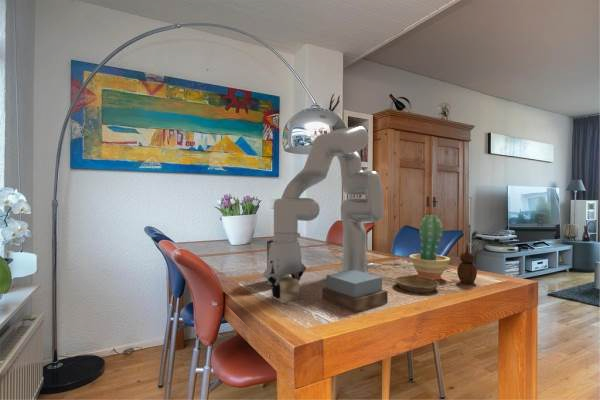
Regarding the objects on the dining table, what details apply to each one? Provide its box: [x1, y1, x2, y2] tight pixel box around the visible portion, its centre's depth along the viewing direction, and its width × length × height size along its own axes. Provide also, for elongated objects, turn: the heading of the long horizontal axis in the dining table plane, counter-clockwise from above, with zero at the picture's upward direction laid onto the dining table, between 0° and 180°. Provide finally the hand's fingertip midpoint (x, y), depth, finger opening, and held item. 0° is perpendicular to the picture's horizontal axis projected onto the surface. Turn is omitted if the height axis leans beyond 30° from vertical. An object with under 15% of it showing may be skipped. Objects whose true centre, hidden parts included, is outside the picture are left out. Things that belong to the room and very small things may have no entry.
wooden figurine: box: [456, 243, 478, 284], centre depth 116 cm, size 7×6×15 cm
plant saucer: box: [394, 275, 440, 294], centre depth 109 cm, size 15×15×3 cm
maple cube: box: [271, 275, 300, 304], centre depth 97 cm, size 6×6×6 cm
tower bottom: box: [321, 286, 389, 313], centre depth 95 cm, size 14×14×4 cm
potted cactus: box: [409, 214, 451, 281], centre depth 124 cm, size 15×15×25 cm
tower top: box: [325, 270, 383, 298], centre depth 95 cm, size 12×12×4 cm
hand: (285, 294), depth 97 cm, fingers closed on maple cube, 6 cm apart
